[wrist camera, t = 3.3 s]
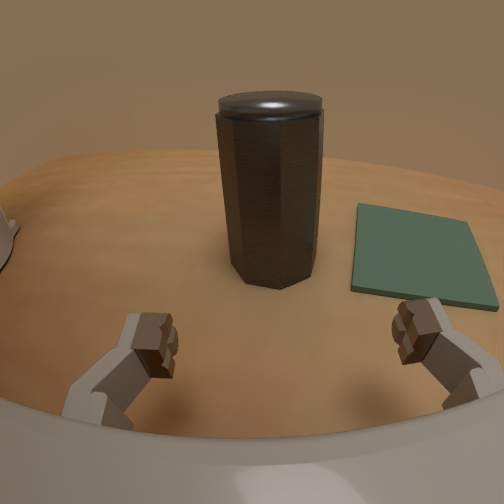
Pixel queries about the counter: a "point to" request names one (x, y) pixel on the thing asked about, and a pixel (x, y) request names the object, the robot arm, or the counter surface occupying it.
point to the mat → (419, 258)
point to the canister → (271, 183)
